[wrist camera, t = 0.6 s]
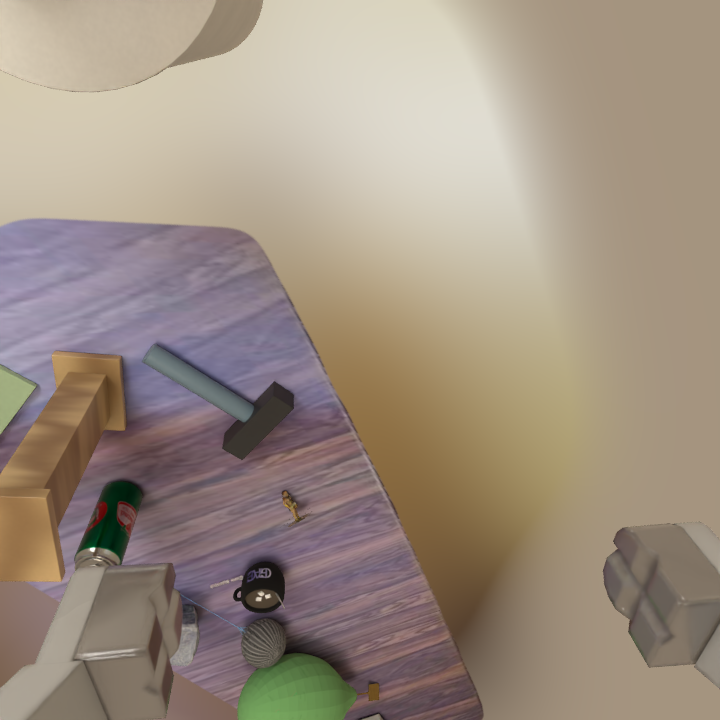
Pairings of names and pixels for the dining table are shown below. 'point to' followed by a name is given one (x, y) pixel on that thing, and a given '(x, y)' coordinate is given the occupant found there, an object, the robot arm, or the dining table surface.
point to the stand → (56, 463)
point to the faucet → (374, 717)
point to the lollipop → (262, 642)
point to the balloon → (298, 691)
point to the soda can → (109, 526)
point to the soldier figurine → (292, 507)
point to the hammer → (228, 402)
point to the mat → (12, 394)
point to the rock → (187, 637)
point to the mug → (260, 588)
